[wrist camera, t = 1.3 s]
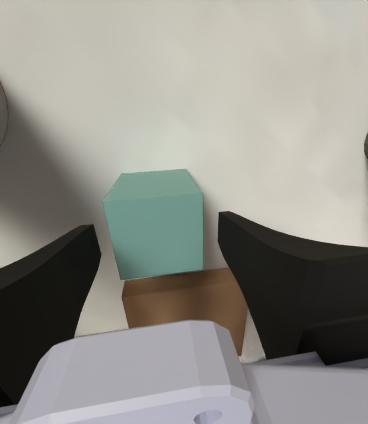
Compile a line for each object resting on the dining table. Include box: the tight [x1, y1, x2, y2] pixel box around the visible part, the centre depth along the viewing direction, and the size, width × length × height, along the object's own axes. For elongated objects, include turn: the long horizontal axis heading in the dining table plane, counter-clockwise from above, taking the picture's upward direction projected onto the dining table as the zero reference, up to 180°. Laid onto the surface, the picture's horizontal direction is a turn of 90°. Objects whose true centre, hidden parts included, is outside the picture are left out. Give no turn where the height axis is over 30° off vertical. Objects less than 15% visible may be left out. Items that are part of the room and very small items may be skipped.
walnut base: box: [122, 268, 248, 356], centre depth 21 cm, size 12×12×2 cm
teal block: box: [102, 169, 203, 280], centre depth 14 cm, size 5×5×6 cm
